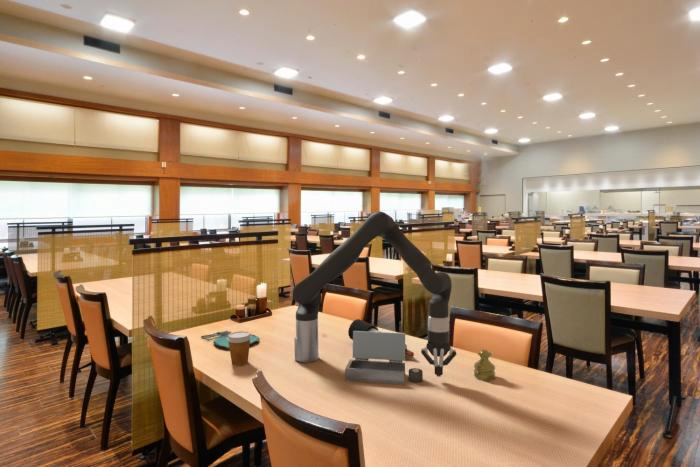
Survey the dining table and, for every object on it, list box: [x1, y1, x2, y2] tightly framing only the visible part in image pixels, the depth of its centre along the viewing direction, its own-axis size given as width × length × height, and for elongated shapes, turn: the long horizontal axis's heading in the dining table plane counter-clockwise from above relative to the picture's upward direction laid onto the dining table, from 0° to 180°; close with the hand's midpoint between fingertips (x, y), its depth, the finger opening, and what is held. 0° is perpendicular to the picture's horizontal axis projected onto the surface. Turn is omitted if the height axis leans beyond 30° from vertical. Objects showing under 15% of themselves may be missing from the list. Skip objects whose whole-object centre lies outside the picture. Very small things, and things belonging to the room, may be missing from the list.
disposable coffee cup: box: [227, 330, 251, 367], centre depth 162 cm, size 10×10×12 cm
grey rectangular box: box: [344, 359, 406, 385], centre depth 147 cm, size 21×9×4 cm, turn 80°
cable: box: [347, 318, 415, 358], centre depth 176 cm, size 10×34×10 cm, turn 44°
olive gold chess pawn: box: [473, 349, 496, 381], centre depth 147 cm, size 7×8×10 cm
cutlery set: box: [200, 330, 260, 350], centre depth 191 cm, size 20×30×2 cm, turn 47°
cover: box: [352, 331, 406, 363], centre depth 152 cm, size 20×11×2 cm
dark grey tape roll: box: [408, 367, 424, 384], centre depth 145 cm, size 5×5×4 cm
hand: (438, 375), depth 143 cm, fingers closed
